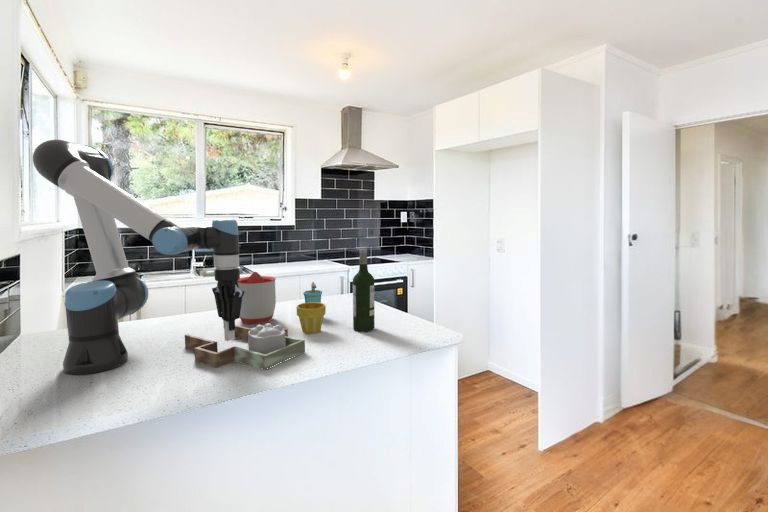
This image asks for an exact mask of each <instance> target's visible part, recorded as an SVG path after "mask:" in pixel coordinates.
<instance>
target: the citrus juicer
mask: <svg viewBox="0 0 768 512" xmlns="http://www.w3.org/2000/svg"><path fill="white" fill-rule="evenodd" d="M237 283H238V286H239V287H238V288H239V289H240V290H241V291H242V290H243V291H244V295H243V297H242V304H241V311H240V318H239V319H240V321H241V322H242V323H243V324H247V325H252V324H253V325H255V324H256V325H258V324H263V323H268V322H270V321H271V320H272V319H273V318H274V314H275V309H276V303H277V302H276V300H277V299H276V297H277V296H276V277H274V276H269V275H268V276H266V275H263V276H262V275H260V273H259V272H257V271H253V273H251V274H250V276H244V277H243V276H242V277H240V279H239V280H238V281H237Z"/></svg>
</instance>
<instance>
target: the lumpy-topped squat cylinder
mask: <svg viewBox="0 0 768 512" xmlns="http://www.w3.org/2000/svg"><path fill="white" fill-rule="evenodd" d="M282 328H283V326H282V325H281V324H276V325H272V324H271V323H268V322H266V323H265V324H264V325H262V324H256V326H255V327H252V328H251V329H250V331H249V332H248V340H247V341H248V343H247V344H248V350H250V351H254V352H258V353H262V354H268V353H270V352H273V351H275V350H278V349H280V348H283V347H285V346H286V339H285V331H284V330H283V329H282Z"/></svg>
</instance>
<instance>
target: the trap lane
mask: <svg viewBox="0 0 768 512" xmlns="http://www.w3.org/2000/svg"><path fill="white" fill-rule="evenodd" d="M250 329H252V328H251V327H246V326H241V325H237V324H235V330H234V331H235V339H236V338H237V339H241V340H246V341H248V332H249V331H250ZM282 329H283V330H284V331H285V339H286V346H285V347H283V348H280V349H278V350H275V351H273V352H270V353H268V354H262V353H258V352H254V351H250V350H249V349H247V348H246V349H245V348H242V347H239V346H231V347H228V348H225V349H223V350H220V351H219V349H218V341H215V340H211V339H208V338H204V337H200V336H196V335H192V334H189V333H186V334H184V347H185V348H188V349H191V350H193V351H194V361H195V362H197V363H198V364H199V363H200V364H203V365H206V366H209V367H213V368H216V369H218V368H220V367H223V366H226V365H228V364H230V363H233V362H237V363H241V364H243V365H248V366H250V365H251V366H250V367H253V366H255V367H254V368H257V367H258V368H257V369H260V368H263V369H262V370H264V369H267V368H269V369H271V368H270V367H272V366H274V365H276V364H278V363H280V362H283V361H285V360H287V359H289V358H292V357H294V356H296V357H298V356H297V355H299V354H301V353H303V354H305V353H306V341H305V339H300V338H297V337H292V336H289V329H288V328H285V327H282ZM304 352H305V353H304ZM301 355H302V354H301ZM299 356H300V355H299ZM294 358H295V357H294ZM292 359H293V358H292ZM287 361H288V360H287ZM285 362H286V361H285ZM283 363H284V362H283ZM278 365H279V364H278ZM276 366H277V365H276ZM274 367H275V366H274ZM272 368H273V367H272ZM267 370H268V369H267Z"/></svg>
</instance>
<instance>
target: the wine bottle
mask: <svg viewBox="0 0 768 512" xmlns="http://www.w3.org/2000/svg"><path fill="white" fill-rule="evenodd" d="M352 315H353V316H352V320H353V321H352V323H353V324H352V329H353V330H354V331H355V332H357V331H358V332H357V333H369V332H368V331H370V332H373V331H374V330H375V277H374V276H373V275H372V274H371V273H370V272H369V270H368V249H367V248H359V269H358V272H357V273H356V274H355V275H354V276H353V277H352Z"/></svg>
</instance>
